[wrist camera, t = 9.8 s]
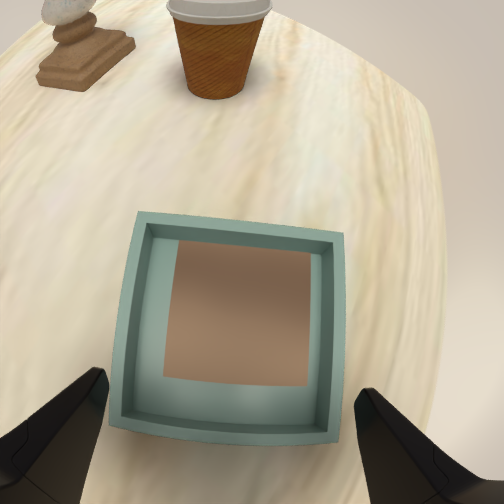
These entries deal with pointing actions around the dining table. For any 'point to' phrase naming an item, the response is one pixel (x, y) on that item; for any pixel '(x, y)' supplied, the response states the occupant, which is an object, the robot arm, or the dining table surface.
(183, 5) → the disposable coffee cup
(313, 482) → the dining table surface
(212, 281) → the walnut block
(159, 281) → the box
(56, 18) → the candle holder
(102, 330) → the dining table surface
